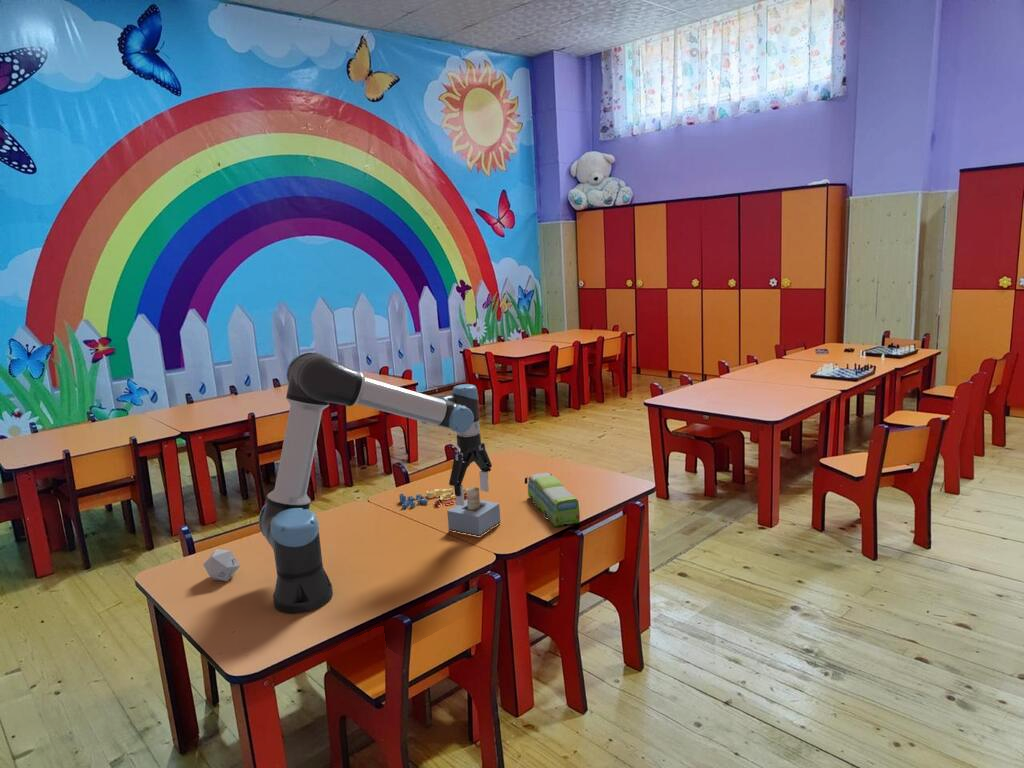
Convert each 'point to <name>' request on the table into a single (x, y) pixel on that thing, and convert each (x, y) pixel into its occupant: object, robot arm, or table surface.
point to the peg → (473, 498)
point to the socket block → (474, 518)
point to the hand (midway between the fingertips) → (472, 497)
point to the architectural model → (444, 495)
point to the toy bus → (553, 499)
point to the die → (221, 565)
